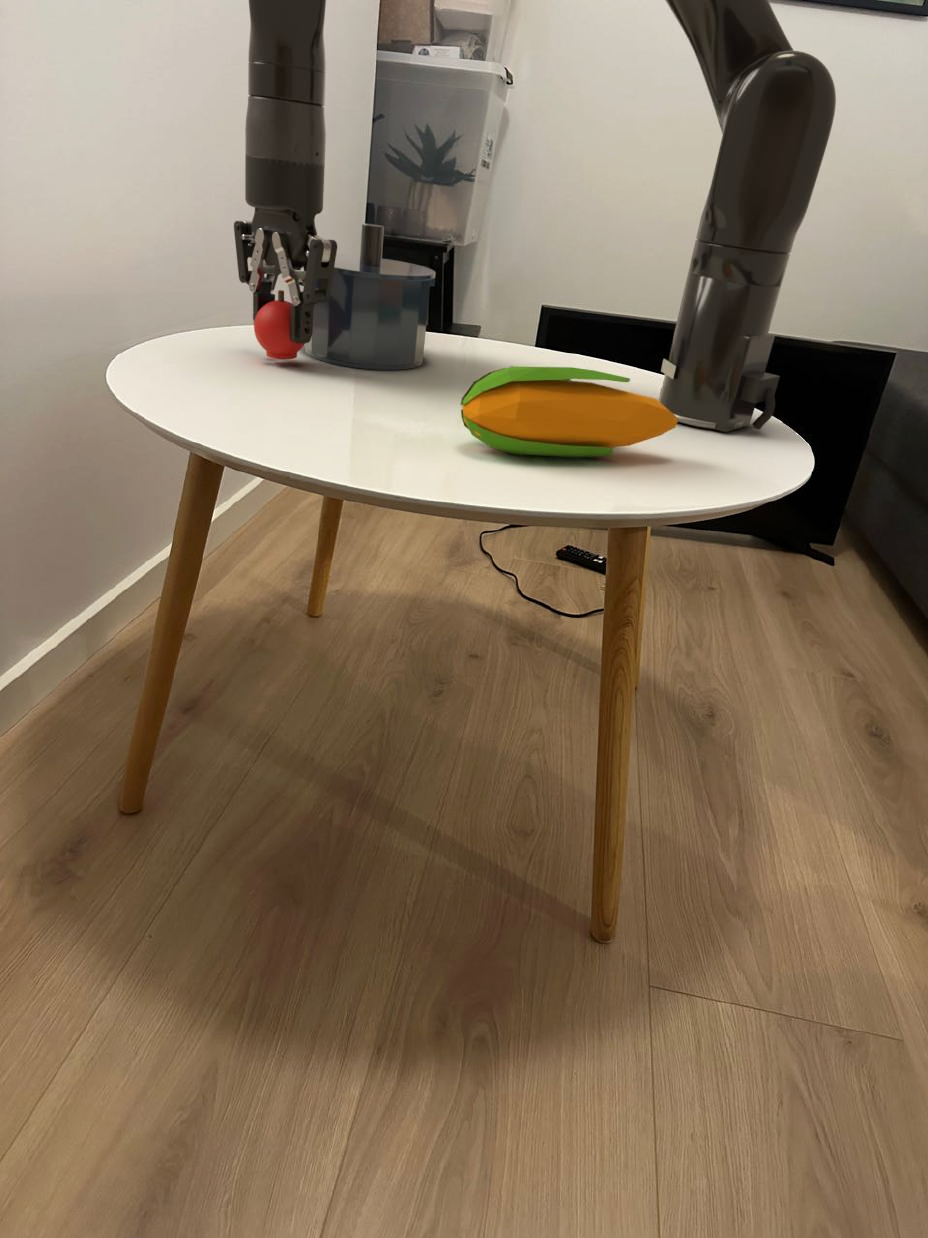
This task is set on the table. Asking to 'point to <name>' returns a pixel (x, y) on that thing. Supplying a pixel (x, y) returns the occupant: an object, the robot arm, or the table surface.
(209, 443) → the table surface
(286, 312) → the apple
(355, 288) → the pot
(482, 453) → the table surface
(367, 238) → the pot lid
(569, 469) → the table surface
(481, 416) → the corn
